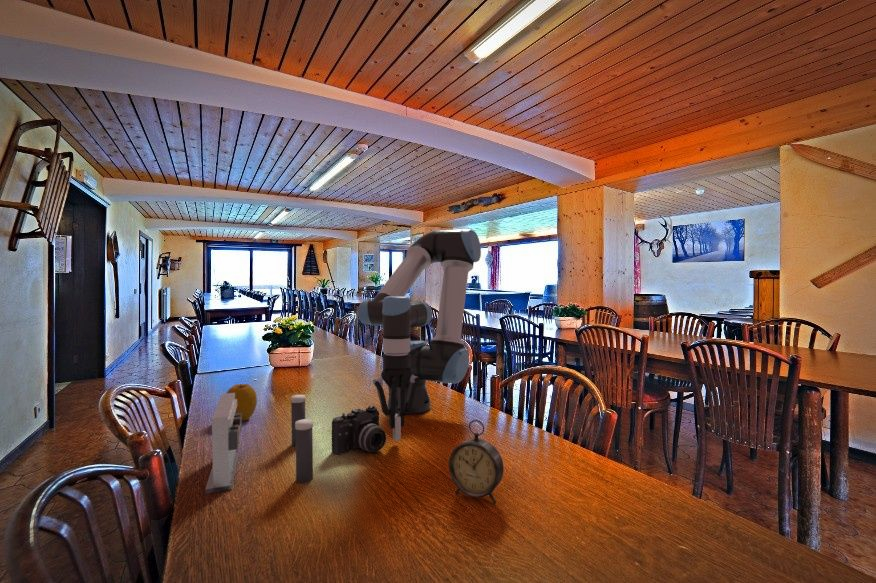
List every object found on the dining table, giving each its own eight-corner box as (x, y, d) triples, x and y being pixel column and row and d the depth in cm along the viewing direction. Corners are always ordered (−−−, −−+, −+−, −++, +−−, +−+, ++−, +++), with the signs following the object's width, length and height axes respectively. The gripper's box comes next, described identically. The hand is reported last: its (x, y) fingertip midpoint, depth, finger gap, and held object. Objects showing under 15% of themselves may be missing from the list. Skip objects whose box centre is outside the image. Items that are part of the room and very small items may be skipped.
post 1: (305, 440, 118) (304, 394, 117) (306, 445, 114) (306, 397, 114) (291, 442, 116) (290, 395, 116) (291, 447, 113) (291, 399, 112)
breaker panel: (242, 452, 110) (241, 392, 109) (237, 488, 91) (235, 415, 90) (216, 456, 107) (215, 394, 107) (205, 494, 89) (203, 419, 88)
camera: (353, 464, 103) (352, 424, 103) (327, 452, 110) (327, 414, 110) (396, 447, 114) (396, 410, 113) (370, 436, 121) (370, 402, 121)
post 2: (312, 474, 98) (312, 418, 97) (314, 481, 94) (313, 423, 94) (295, 477, 96) (294, 420, 96) (296, 484, 93) (295, 425, 92)
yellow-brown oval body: (216, 422, 132) (216, 385, 132) (241, 413, 141) (241, 378, 141) (240, 426, 129) (239, 388, 128) (264, 417, 138) (263, 381, 137)
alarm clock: (447, 495, 88) (447, 419, 88) (458, 484, 93) (458, 412, 92) (497, 509, 83) (497, 428, 82) (506, 496, 88) (506, 420, 87)
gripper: (414, 349, 120) (414, 431, 120) (369, 352, 115) (370, 437, 116) (423, 353, 113) (423, 440, 114) (376, 357, 108) (376, 447, 109)
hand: (396, 439), depth 115 cm, fingers closed
